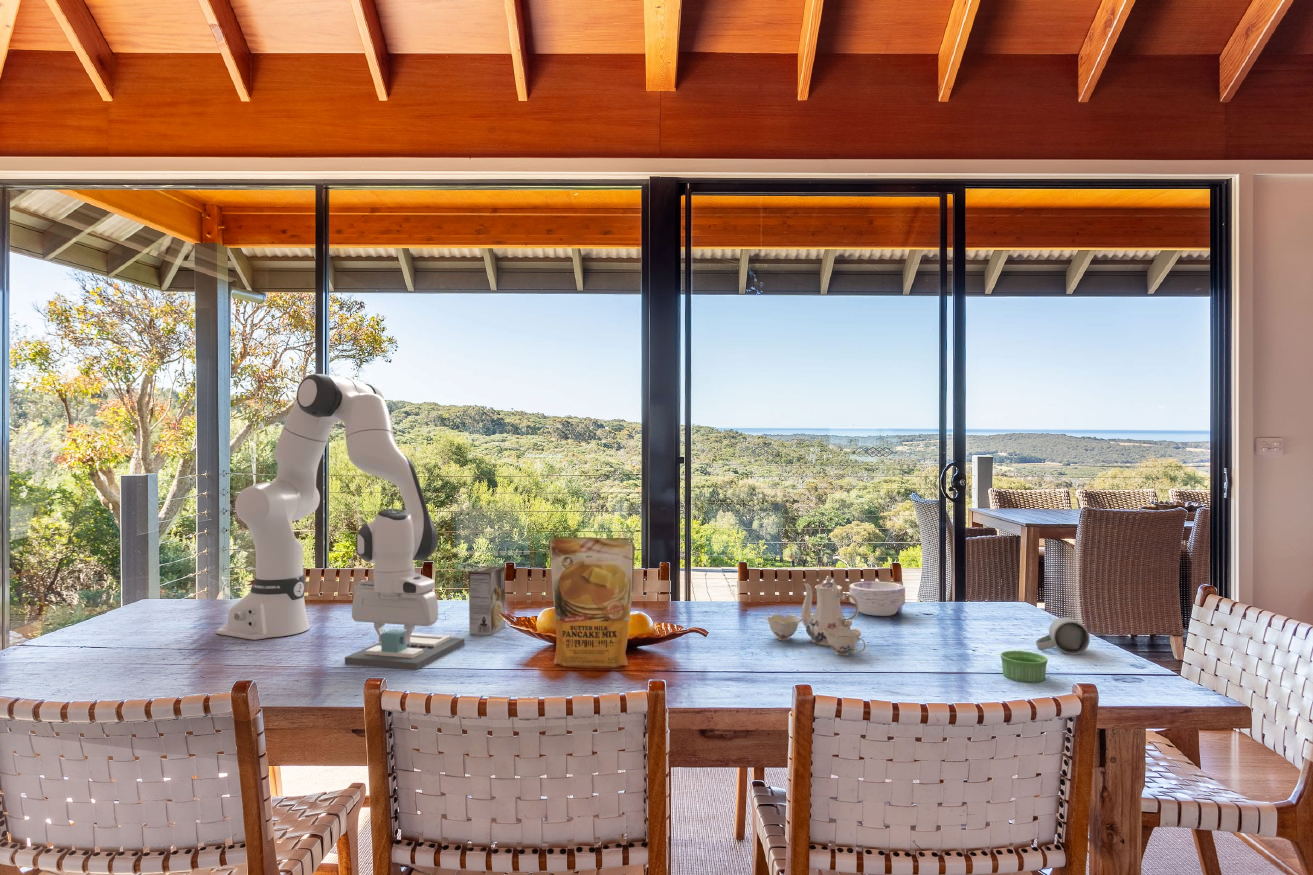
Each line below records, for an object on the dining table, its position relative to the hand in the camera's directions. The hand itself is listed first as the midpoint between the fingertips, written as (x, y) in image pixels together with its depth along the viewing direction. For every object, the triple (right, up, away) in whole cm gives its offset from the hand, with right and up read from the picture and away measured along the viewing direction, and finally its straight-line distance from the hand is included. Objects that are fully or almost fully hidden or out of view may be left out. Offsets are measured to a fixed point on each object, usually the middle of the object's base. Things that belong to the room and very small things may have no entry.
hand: (394, 642), depth 178 cm
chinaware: (+99, -4, +14) cm, 100 cm away
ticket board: (+1, -4, +5) cm, 7 cm away
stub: (0, -2, 0) cm, 2 cm away
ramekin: (+136, -4, -13) cm, 137 cm away
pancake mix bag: (+45, -4, -3) cm, 45 cm away
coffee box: (+15, -4, +27) cm, 31 cm away
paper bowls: (+122, -4, +46) cm, 130 cm away
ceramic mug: (+154, -4, +7) cm, 155 cm away
